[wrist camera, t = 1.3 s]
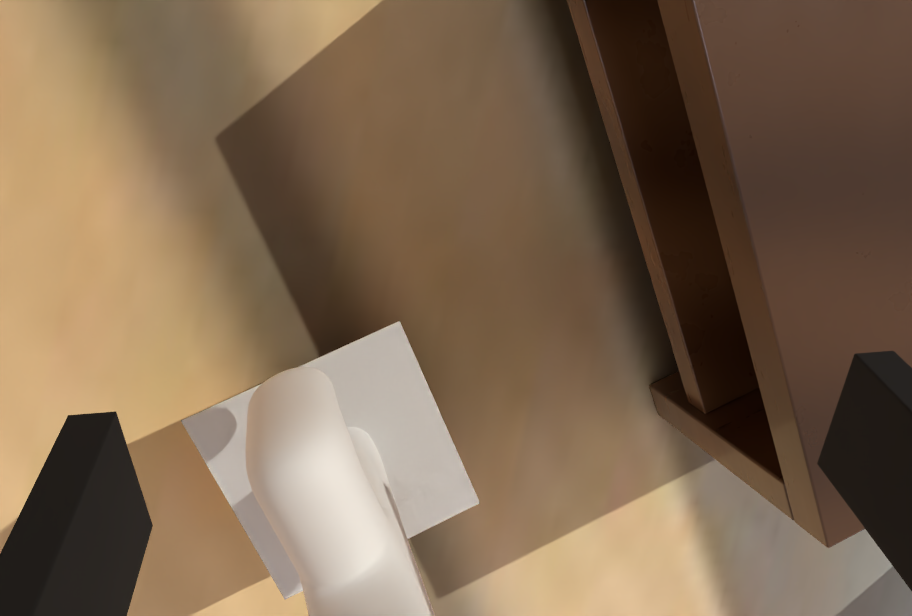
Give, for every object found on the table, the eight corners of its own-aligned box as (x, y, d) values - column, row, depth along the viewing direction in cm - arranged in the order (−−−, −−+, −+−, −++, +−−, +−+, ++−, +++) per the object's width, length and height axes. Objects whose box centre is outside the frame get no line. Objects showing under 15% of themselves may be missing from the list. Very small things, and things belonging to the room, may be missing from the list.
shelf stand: (494, -92, 24) (638, -215, 15) (854, -232, 26) (1185, -420, 17) (658, 415, 31) (828, 549, 22) (937, 278, 33) (1207, 347, 23)
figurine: (370, 265, 26) (489, 447, 12) (464, 479, 30) (645, 817, 16) (176, 351, 26) (68, 652, 12) (295, 562, 29) (323, 1000, 15)
